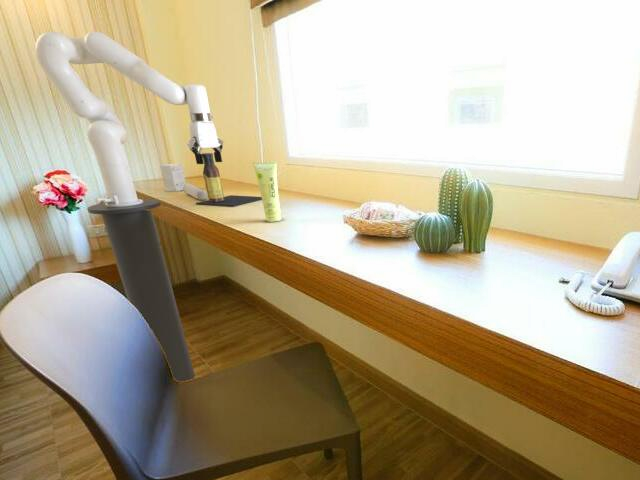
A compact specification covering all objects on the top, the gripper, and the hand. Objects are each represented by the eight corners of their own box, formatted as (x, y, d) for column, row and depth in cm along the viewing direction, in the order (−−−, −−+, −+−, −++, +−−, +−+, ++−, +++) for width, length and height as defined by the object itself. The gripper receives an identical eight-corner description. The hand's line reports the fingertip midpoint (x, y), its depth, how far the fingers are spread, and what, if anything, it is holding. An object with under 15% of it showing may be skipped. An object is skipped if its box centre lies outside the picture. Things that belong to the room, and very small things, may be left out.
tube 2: (268, 223, 131) (259, 162, 124) (261, 221, 134) (252, 161, 127) (284, 220, 135) (276, 161, 127) (277, 218, 138) (269, 160, 131)
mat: (232, 206, 160) (232, 205, 159) (195, 204, 166) (195, 202, 166) (265, 198, 177) (265, 197, 177) (231, 196, 184) (230, 195, 183)
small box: (177, 189, 210) (171, 163, 205) (187, 189, 208) (181, 163, 204) (165, 191, 202) (159, 165, 197) (176, 191, 201) (170, 165, 196)
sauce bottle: (212, 200, 172) (202, 152, 165) (227, 199, 172) (218, 152, 165) (206, 202, 166) (196, 153, 158) (221, 202, 166) (212, 153, 159)
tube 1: (209, 190, 175) (195, 184, 193) (196, 188, 171) (183, 182, 189) (207, 202, 176) (194, 195, 194) (194, 200, 172) (182, 193, 190)
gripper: (211, 119, 166) (219, 161, 172) (175, 118, 151) (185, 164, 157) (224, 118, 163) (232, 161, 170) (190, 118, 148) (199, 165, 155)
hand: (209, 163), depth 163 cm, fingers open, 9 cm apart
